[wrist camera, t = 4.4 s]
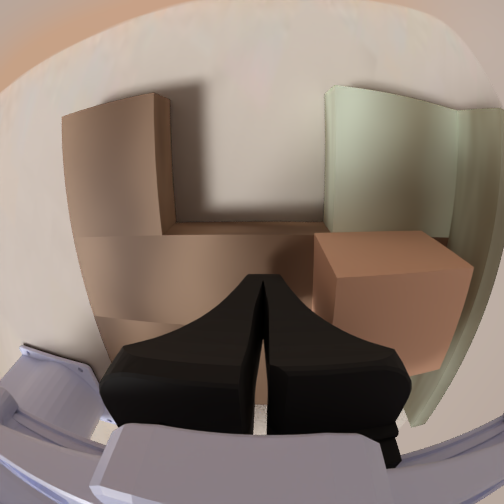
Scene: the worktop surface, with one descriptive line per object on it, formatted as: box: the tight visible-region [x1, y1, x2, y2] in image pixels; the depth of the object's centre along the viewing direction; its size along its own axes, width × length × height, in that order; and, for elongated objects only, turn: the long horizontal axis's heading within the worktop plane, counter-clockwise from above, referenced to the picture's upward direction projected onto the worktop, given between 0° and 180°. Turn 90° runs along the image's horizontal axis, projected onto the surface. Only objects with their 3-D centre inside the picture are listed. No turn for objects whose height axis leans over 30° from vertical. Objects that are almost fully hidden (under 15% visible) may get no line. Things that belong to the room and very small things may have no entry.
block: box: [312, 231, 474, 376], centre depth 10 cm, size 5×4×4 cm
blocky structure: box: [62, 85, 504, 427], centre depth 11 cm, size 19×16×5 cm
